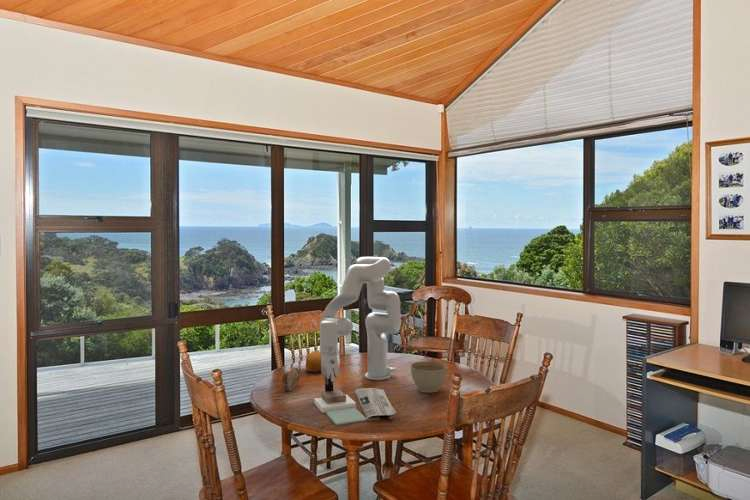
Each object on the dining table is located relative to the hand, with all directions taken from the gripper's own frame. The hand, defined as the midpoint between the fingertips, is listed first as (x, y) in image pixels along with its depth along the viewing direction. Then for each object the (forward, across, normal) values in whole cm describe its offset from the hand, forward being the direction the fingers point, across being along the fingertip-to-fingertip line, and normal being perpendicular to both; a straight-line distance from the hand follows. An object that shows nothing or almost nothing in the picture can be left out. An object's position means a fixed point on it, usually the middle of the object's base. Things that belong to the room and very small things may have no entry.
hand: (329, 393), depth 209 cm
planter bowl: (+3, -4, -45) cm, 45 cm away
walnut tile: (+1, -6, 0) cm, 6 cm away
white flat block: (+3, -7, 0) cm, 8 cm away
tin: (+3, +24, +11) cm, 26 cm away
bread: (+3, +50, -11) cm, 51 cm away
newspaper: (+4, -14, -16) cm, 21 cm away
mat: (+3, -21, 0) cm, 21 cm away
